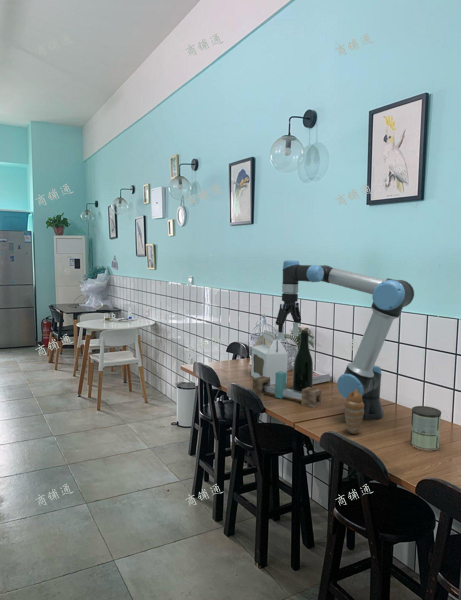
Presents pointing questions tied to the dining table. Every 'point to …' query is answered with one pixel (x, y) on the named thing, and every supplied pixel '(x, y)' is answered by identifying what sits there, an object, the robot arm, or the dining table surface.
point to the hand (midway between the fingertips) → (288, 337)
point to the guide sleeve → (311, 397)
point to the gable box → (268, 357)
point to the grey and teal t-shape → (281, 387)
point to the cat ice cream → (354, 411)
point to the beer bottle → (303, 365)
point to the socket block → (260, 385)
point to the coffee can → (425, 427)
